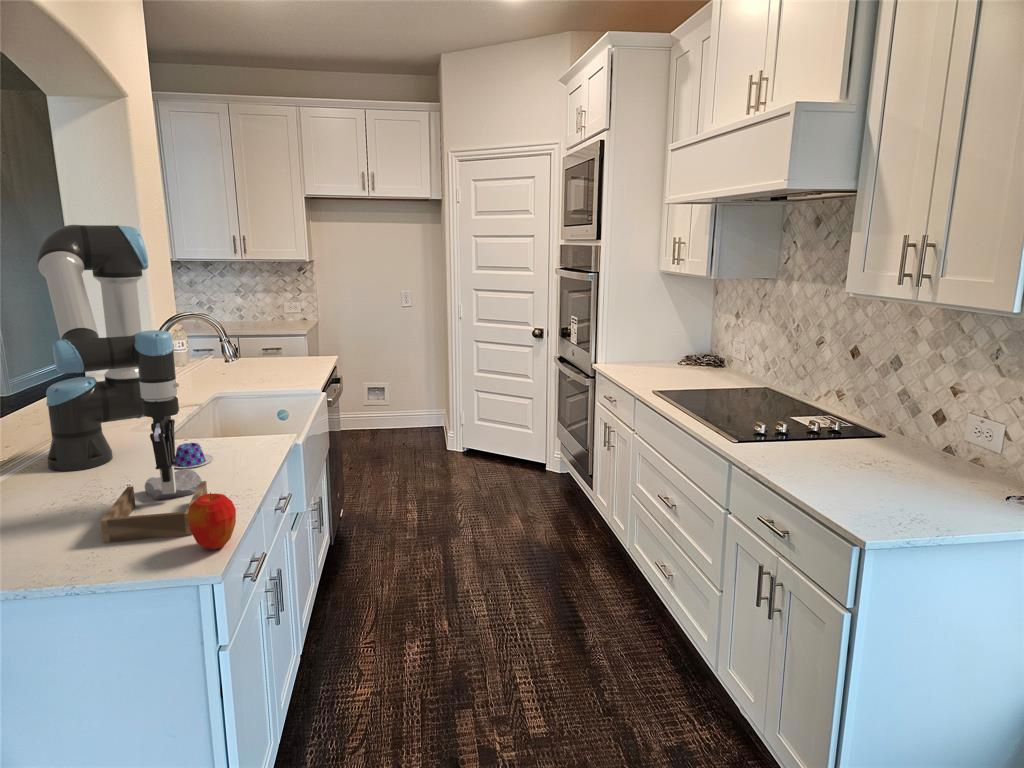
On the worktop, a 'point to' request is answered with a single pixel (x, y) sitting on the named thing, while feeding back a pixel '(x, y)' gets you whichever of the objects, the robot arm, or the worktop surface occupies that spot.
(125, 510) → the cubby
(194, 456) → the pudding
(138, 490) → the worktop surface
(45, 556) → the worktop surface
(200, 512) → the apple
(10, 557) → the worktop surface
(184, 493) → the stone block
